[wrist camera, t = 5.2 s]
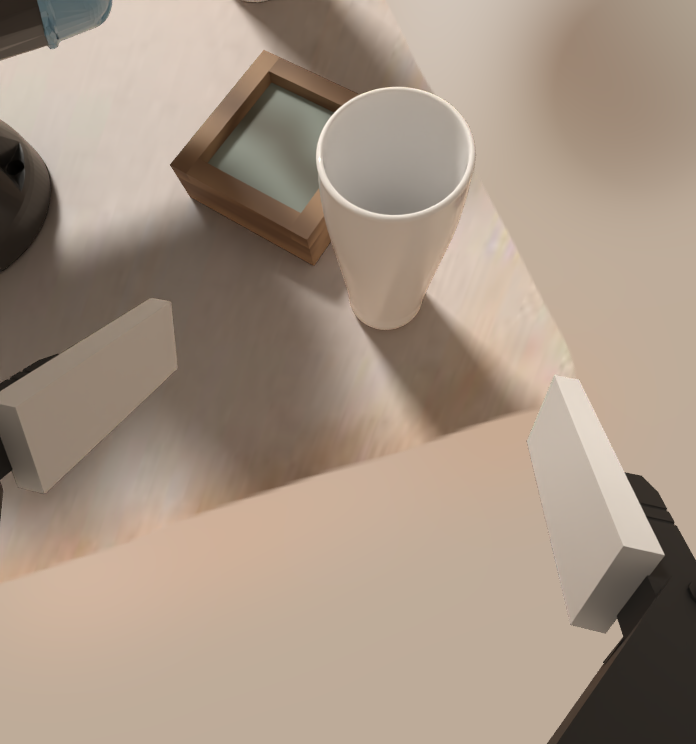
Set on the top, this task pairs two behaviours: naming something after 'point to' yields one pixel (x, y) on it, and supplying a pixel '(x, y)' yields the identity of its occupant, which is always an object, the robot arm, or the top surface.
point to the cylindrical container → (254, 0)
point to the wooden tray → (266, 154)
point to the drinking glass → (393, 196)
